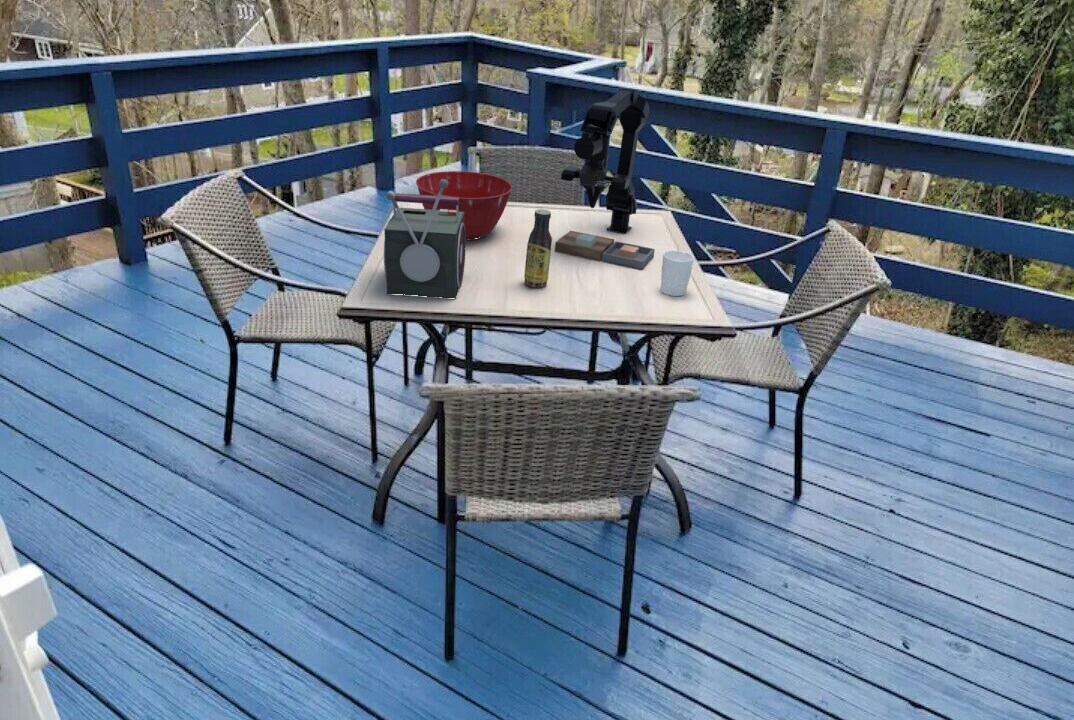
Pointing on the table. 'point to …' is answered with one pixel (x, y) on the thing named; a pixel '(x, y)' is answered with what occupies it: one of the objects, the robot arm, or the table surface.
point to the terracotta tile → (628, 251)
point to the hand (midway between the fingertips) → (592, 207)
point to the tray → (637, 263)
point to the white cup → (676, 272)
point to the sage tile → (585, 240)
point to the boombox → (425, 246)
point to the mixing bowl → (470, 197)
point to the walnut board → (570, 248)
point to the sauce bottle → (538, 251)
